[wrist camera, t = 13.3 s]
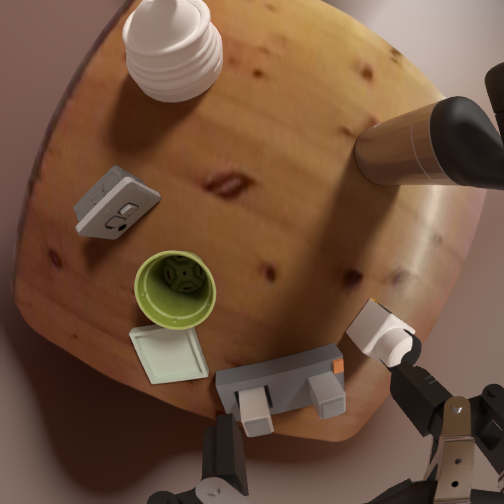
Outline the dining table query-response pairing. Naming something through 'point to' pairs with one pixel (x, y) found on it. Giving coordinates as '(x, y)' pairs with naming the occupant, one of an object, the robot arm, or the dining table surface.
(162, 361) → the tray
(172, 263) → the plant pot
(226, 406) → the grey peg socket block
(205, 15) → the honey pot
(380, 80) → the dining table surface
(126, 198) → the electrical switch
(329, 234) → the dining table surface
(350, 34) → the dining table surface
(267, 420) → the plug
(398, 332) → the medicine bottle
